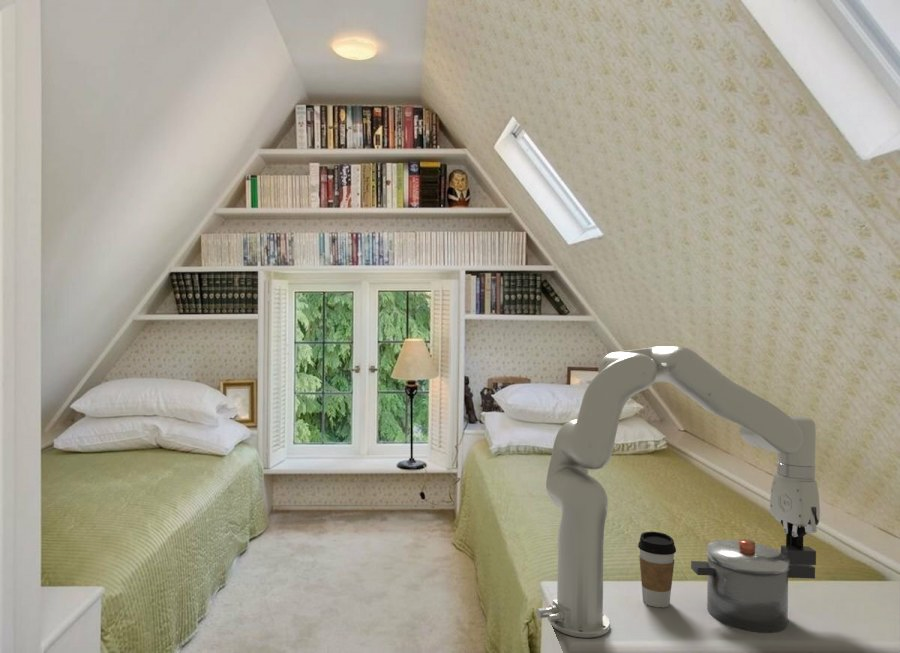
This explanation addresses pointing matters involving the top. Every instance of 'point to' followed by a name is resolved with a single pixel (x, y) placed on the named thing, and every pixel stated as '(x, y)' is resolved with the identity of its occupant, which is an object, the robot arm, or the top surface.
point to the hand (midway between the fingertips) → (794, 552)
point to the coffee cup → (656, 567)
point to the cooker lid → (758, 556)
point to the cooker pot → (749, 595)
